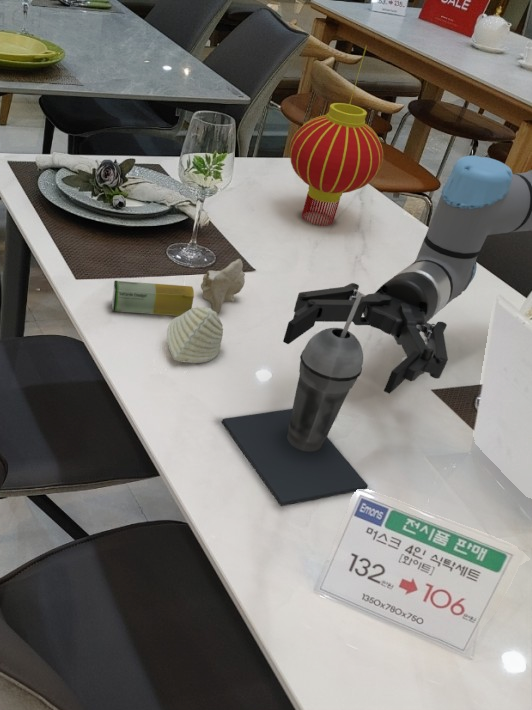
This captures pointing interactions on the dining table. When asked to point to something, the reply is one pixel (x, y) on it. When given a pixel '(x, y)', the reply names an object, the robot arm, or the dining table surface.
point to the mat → (291, 459)
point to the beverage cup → (324, 383)
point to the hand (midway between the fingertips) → (337, 357)
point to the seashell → (195, 335)
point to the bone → (223, 284)
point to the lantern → (335, 156)
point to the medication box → (152, 298)
